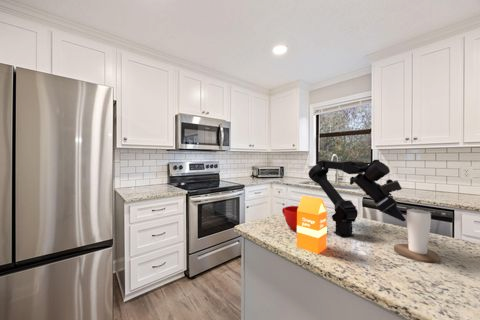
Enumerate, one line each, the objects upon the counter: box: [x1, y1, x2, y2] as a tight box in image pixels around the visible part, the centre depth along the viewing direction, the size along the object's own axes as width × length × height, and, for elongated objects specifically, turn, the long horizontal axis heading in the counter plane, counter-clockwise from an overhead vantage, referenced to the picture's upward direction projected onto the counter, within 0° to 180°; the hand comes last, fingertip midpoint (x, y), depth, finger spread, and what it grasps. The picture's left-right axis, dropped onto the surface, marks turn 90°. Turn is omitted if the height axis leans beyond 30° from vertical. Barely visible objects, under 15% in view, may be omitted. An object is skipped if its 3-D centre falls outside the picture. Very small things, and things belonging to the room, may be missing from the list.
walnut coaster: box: [393, 243, 441, 264], centre depth 76 cm, size 13×13×1 cm
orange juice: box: [296, 195, 328, 255], centre depth 81 cm, size 8×9×20 cm
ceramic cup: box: [281, 205, 299, 232], centre depth 104 cm, size 13×17×10 cm
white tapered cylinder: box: [405, 208, 432, 255], centre depth 76 cm, size 7×7×15 cm
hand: (402, 217), depth 78 cm, fingers open, 9 cm apart
